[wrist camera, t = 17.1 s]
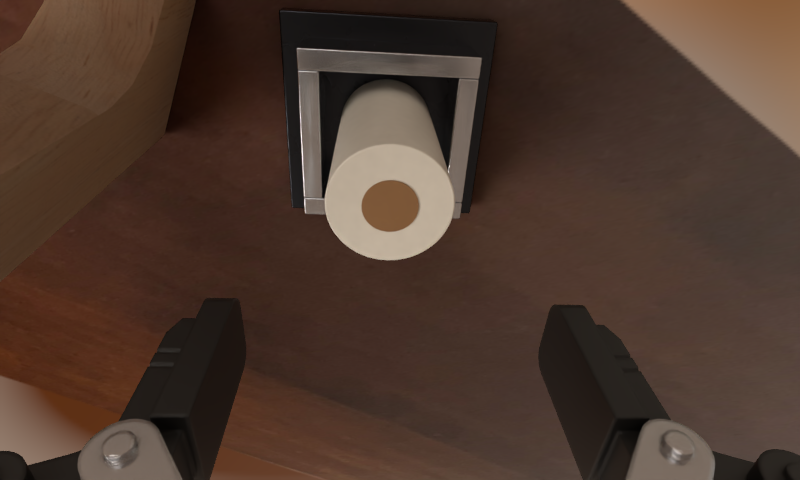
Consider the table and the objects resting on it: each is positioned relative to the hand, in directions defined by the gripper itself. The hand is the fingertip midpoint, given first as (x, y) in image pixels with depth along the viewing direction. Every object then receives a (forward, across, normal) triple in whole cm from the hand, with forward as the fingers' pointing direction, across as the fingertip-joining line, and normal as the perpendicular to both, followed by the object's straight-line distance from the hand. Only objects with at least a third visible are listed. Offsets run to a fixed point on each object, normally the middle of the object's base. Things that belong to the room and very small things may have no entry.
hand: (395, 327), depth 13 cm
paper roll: (+17, 0, 0) cm, 17 cm away
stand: (+18, 0, 0) cm, 18 cm away
